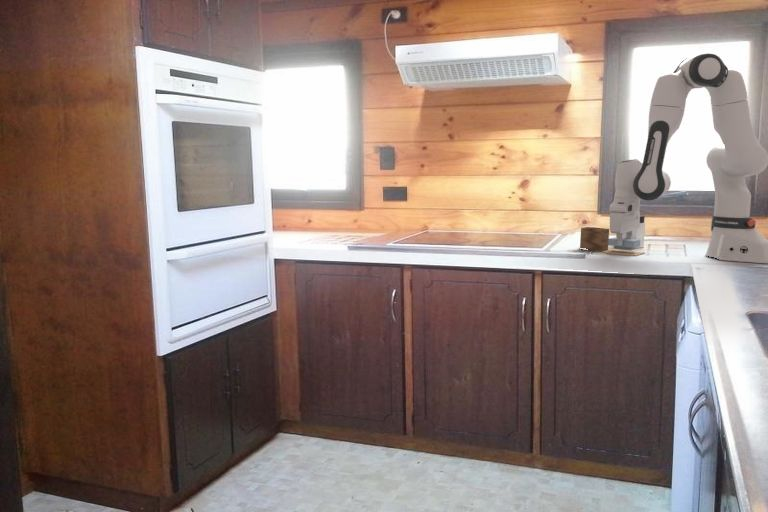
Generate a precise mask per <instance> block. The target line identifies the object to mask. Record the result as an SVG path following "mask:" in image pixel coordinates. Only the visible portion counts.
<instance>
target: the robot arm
mask: <svg viewBox="0 0 768 512" xmlns="http://www.w3.org/2000/svg"><path fill="white" fill-rule="evenodd" d="M745 84H746V83H745V79H744V78H743V75H742V73H741V72H740V71H739V70H737V69H735V68H728V66H727V65H726V64H725V63H724V61H723V60H722V58H721V57H720V56H719V55H717V54H716V53H713V52H707V51H706V52H703V53H702V52H701V53H696V54H693V55H691V56H689V57H687V58H684V59H683V60H682V61H681V62H680V63H679V65H678V66H677V67H676V68H675V70H674V71H673V72H667V73H664V74H662V75H661V76H659V77H658V78H657V80H656V83H655V86H654V88H653V92H652V96H651V100H650V104H649V111H648V112H649V113H648V129H647V141H646V145H645V151H644V155H643V161H642V160H641V159H637V158H634V159H627V160H621V162H619V163H618V164H617V168H616V171H615V180H614V187H615V191H614V196H613V201H612V202H611V204H610V205H609V207H608V210H609V212H610V214H609V233H610V234H614V235H615V237H617V240H618V241H617V245H620V246H622V245H624V240H623V236H624V233H625V232H626V233H627V234H626V238H630V239H631V238H632V236H633V231H634V230H638V229H639V226H640V215H641V212H640V209H641V200H643V201H655V200H657V199H658V198H660V197H661V196H664V195H665V194H666V193H668V192H669V190H670V187H671V177H670V176H669V175H668V174H667V173H666V172H665V171H663V167H664V160H665V157H666V156H665V155H666V152H667V146H668V143H669V142H670V140H671V138H672V136H673V135H674V134H675V133H676V132H677V131H678V130H679V128H680V126H681V124H682V121H683V118H684V115H685V110H686V103H687V98H688V96H689V94H690V92H691V91H692V90H694V89H702V88H704V89H706V90H707V91H708V94H709V97H710V105H711V115H712V121H713V122H712V124H713V128H714V131H715V132H717V134H718V136H719V137H720V139H721V141H722V144H720V145H717V146H714V147H713V148H711V149H710V151H709V152H708V153H707V156H706V165H707V167H708V169H709V170H710V172H711V176H712V180H713V186H714V208H713V209H714V210H713V215H712V216H711V217H712V218H711V221H710V222H711V223H710V231H711V235H710V238H709V244H708V247H707V249H706V253H705V257H708V256H709V257H708V258H711V257H714V258H713V259H715V258H717V259H716V260H718V259H719V260H718V261H729V262H741V263H742V262H743V263H755V264H757V263H758V264H768V239H767V238H766V237H765V236H764V235H762V233H760V232H759V231H758V230H756V229H755V228H756V223H757V220H756V219H753V218H752V217H750V215H751V203H752V194H751V191H750V190H749V188H748V186H747V183H746V177H747V178H748V177H752V176H756V175H759V174H761V173H763V172H764V171H765V170H766V169H767V166H768V152H767V150H766V149H765V148H764V146H762V145H761V143H760V142H759V139H758V138H757V135H756V133H755V130H754V128H753V125H752V121H751V114H750V107H749V101H748V99H749V98H748V92H747V89H746V85H745Z"/></svg>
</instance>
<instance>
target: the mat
mask: <svg viewBox="0 0 768 512" xmlns="http://www.w3.org/2000/svg"><path fill="white" fill-rule="evenodd" d="M601 253H602V254H610V255H611V254H612V255H619V256H620V255H622V256H630V257H631V256H632V257H638V256H641V255H644V254H645V253H646V252H644V251H636V250H622V249H614V248H610V249H609V250H607V251H603V252H601Z"/></svg>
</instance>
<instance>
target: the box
mask: <svg viewBox="0 0 768 512" xmlns="http://www.w3.org/2000/svg"><path fill="white" fill-rule="evenodd" d="M609 239H610V228H606V227H605V228H604V227H592V226H585V227H581V228H580V240H579V243H580V244H579V249H580V248H586V249H588V250H589V252H590V251H591V252H598V253H599V252H600V253H602V252H603V251H607V250H610V249H609V245H608V242H609ZM588 250H587V251H588Z"/></svg>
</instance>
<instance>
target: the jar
mask: <svg viewBox="0 0 768 512" xmlns="http://www.w3.org/2000/svg"><path fill="white" fill-rule="evenodd" d="M645 229H646V222H645V215H643V214H640V226H639V229H638V230H634V231H633V236H632V238H631V239H640V246H639V247H635V248H634V249H642V248H644V247H645V246H644V245H645V234H646V233H645V232H646V231H645ZM626 234H627V233H626V232H625V233H624V236H623V238H626Z"/></svg>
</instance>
